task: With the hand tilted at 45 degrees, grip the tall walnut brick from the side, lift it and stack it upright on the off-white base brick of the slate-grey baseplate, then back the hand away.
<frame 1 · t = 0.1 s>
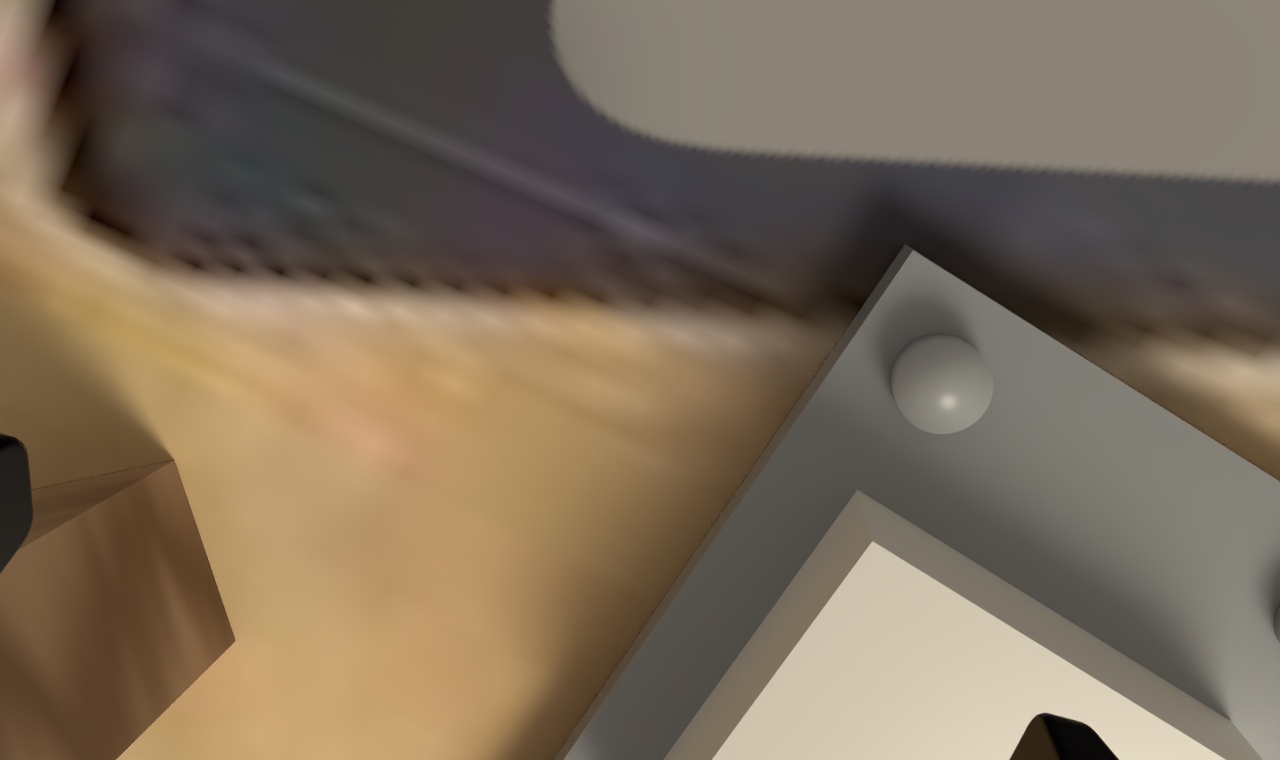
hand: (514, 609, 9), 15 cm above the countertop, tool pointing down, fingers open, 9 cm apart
base brick: (908, 740, 26), on the countertop
walnut brick: (117, 569, 27), on the countertop
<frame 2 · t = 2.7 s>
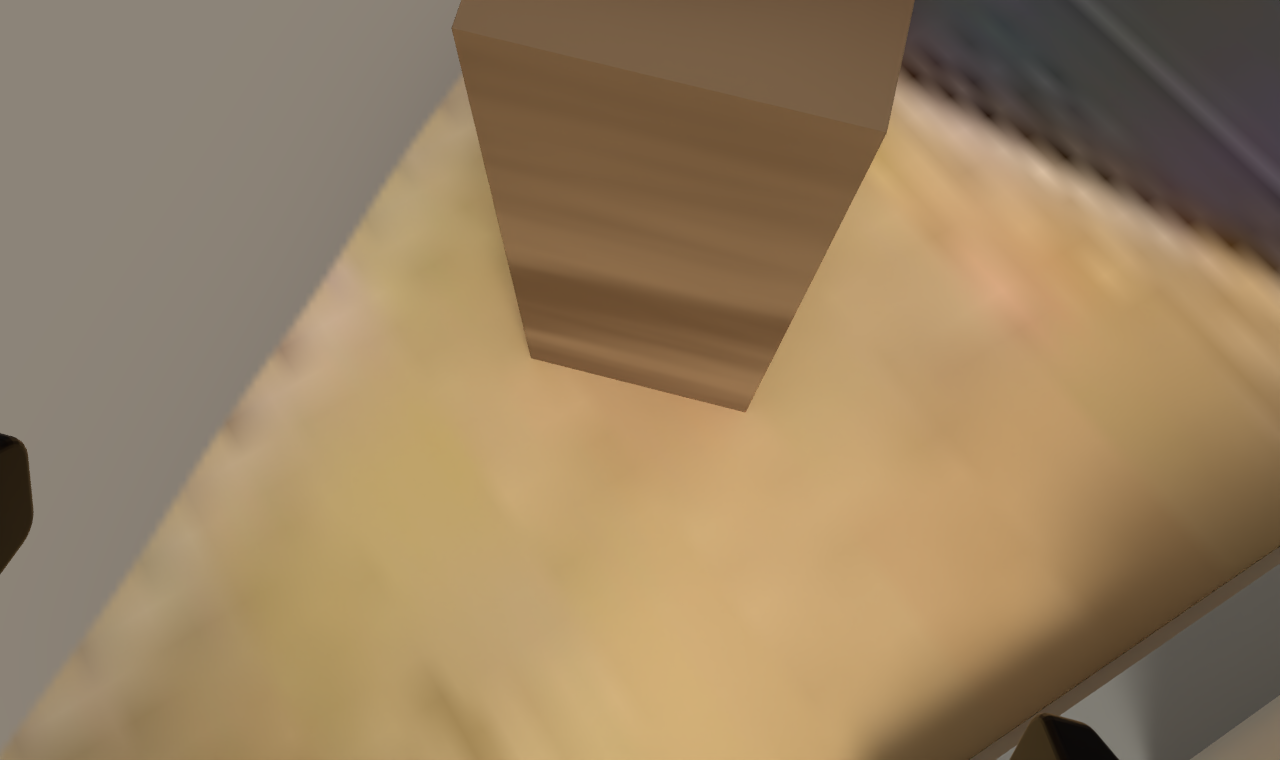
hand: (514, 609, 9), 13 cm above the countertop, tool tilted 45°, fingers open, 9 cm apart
walnut brick: (664, 284, 24), on the countertop
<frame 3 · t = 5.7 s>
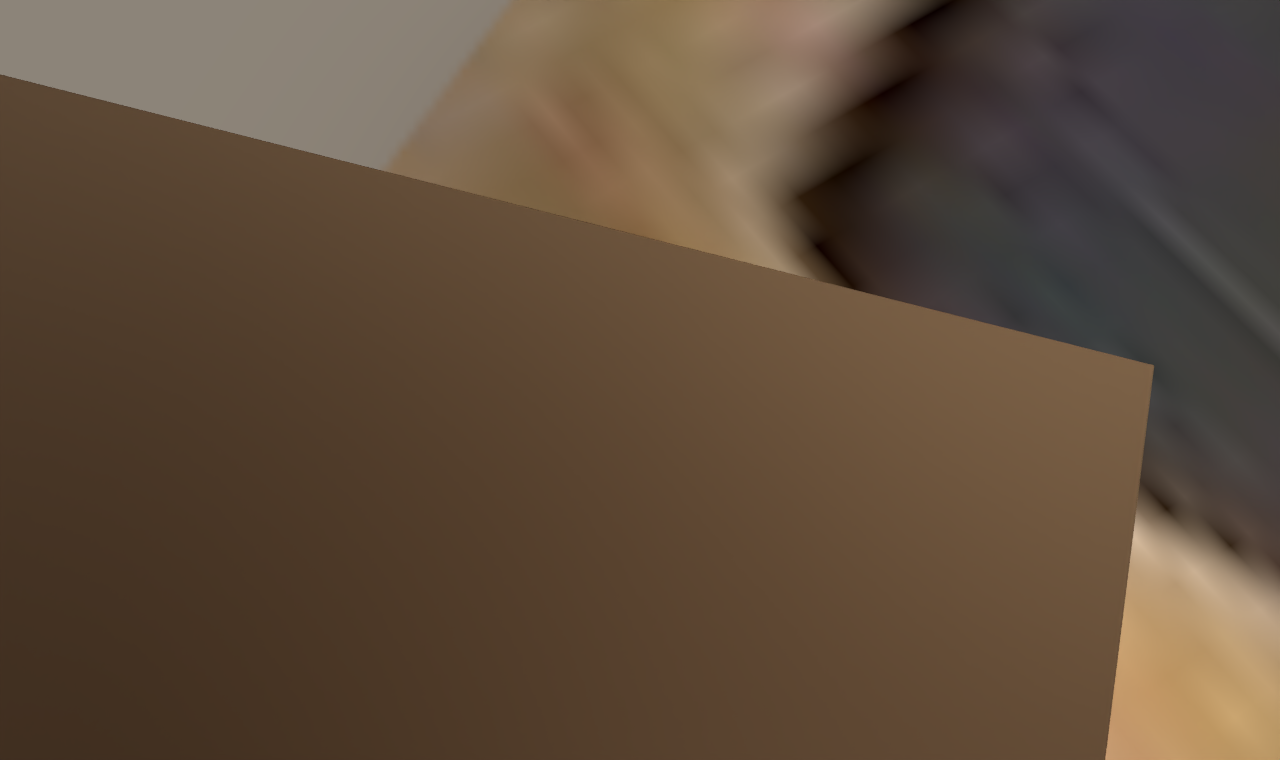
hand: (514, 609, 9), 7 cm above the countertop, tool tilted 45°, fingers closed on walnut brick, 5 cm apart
walnut brick: (525, 739, 15), on the countertop, touching gripper
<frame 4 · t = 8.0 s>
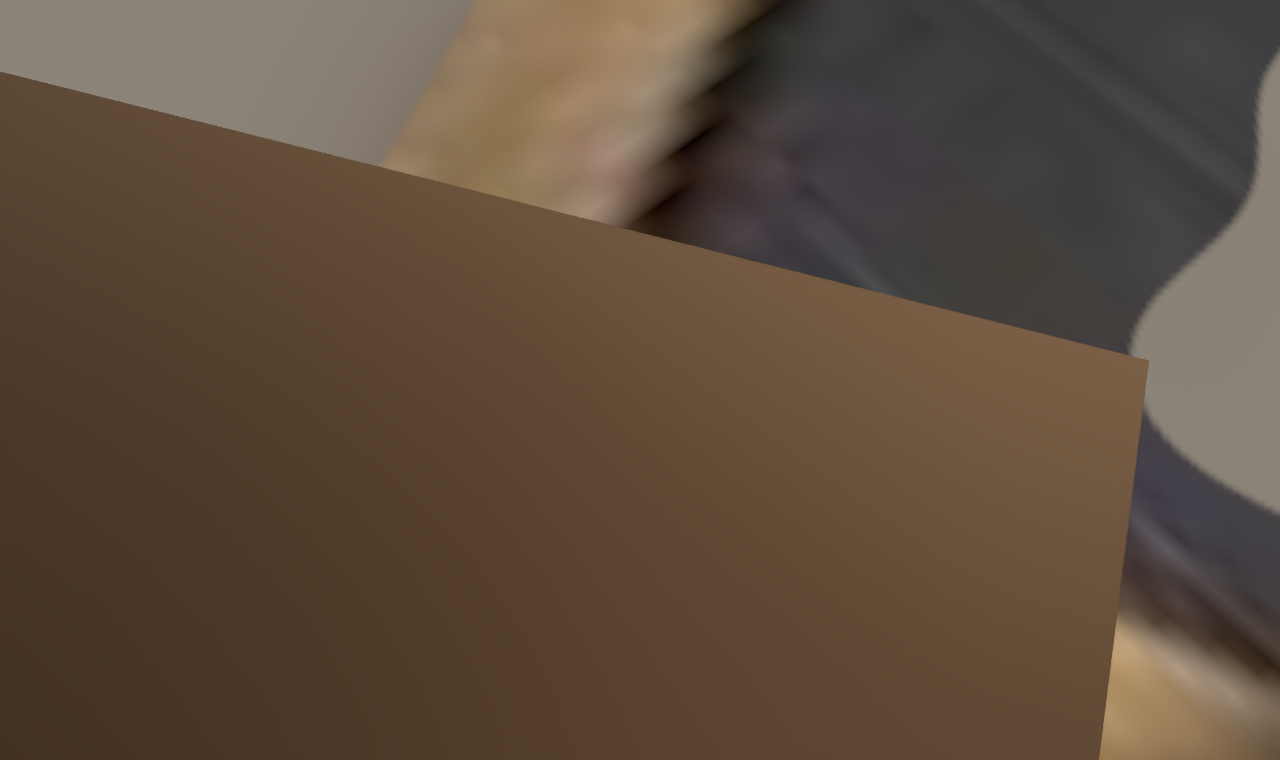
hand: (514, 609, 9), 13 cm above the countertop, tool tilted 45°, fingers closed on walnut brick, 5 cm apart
walnut brick: (524, 738, 15), point 7 cm above the countertop, touching gripper
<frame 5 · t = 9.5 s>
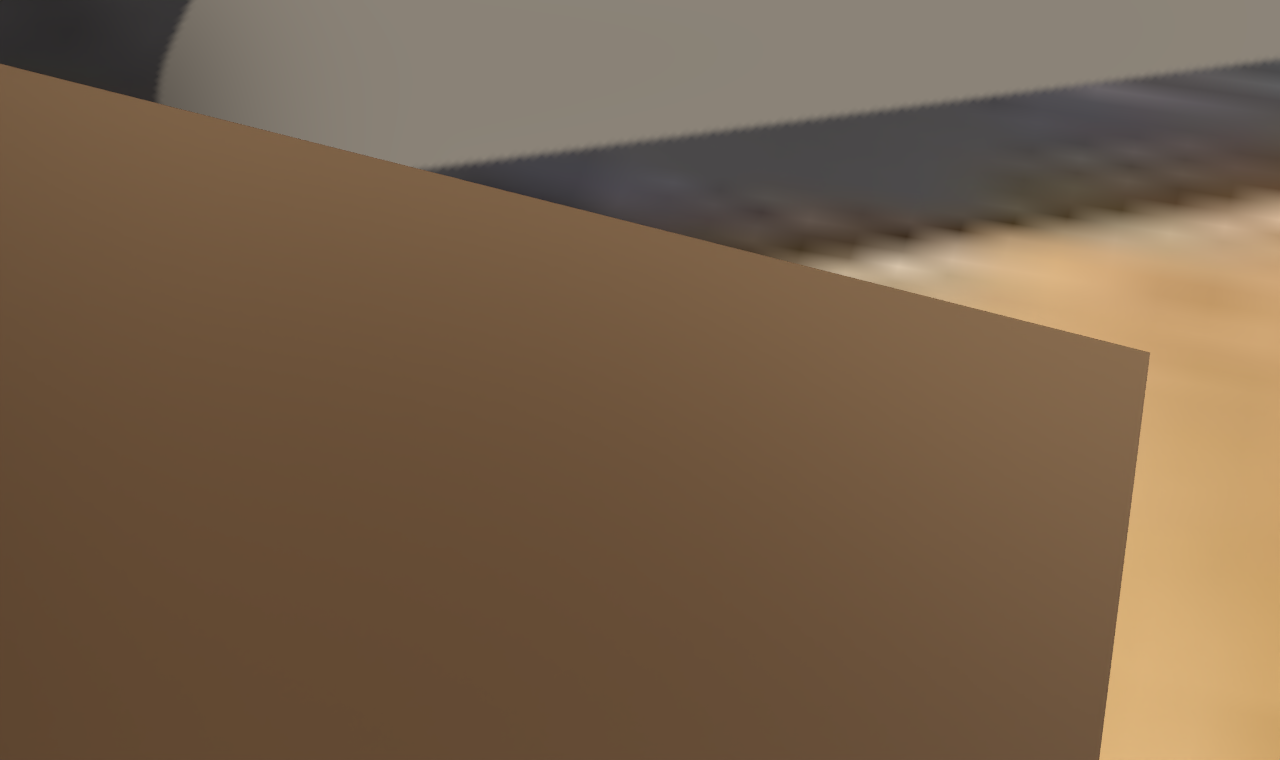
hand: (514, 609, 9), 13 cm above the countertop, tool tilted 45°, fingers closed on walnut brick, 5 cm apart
walnut brick: (524, 736, 15), point 7 cm above the countertop, touching gripper
when the fingers open (12 cm above the countertop, at t = 10.7 s): walnut brick drops 1 cm, resting on base brick.
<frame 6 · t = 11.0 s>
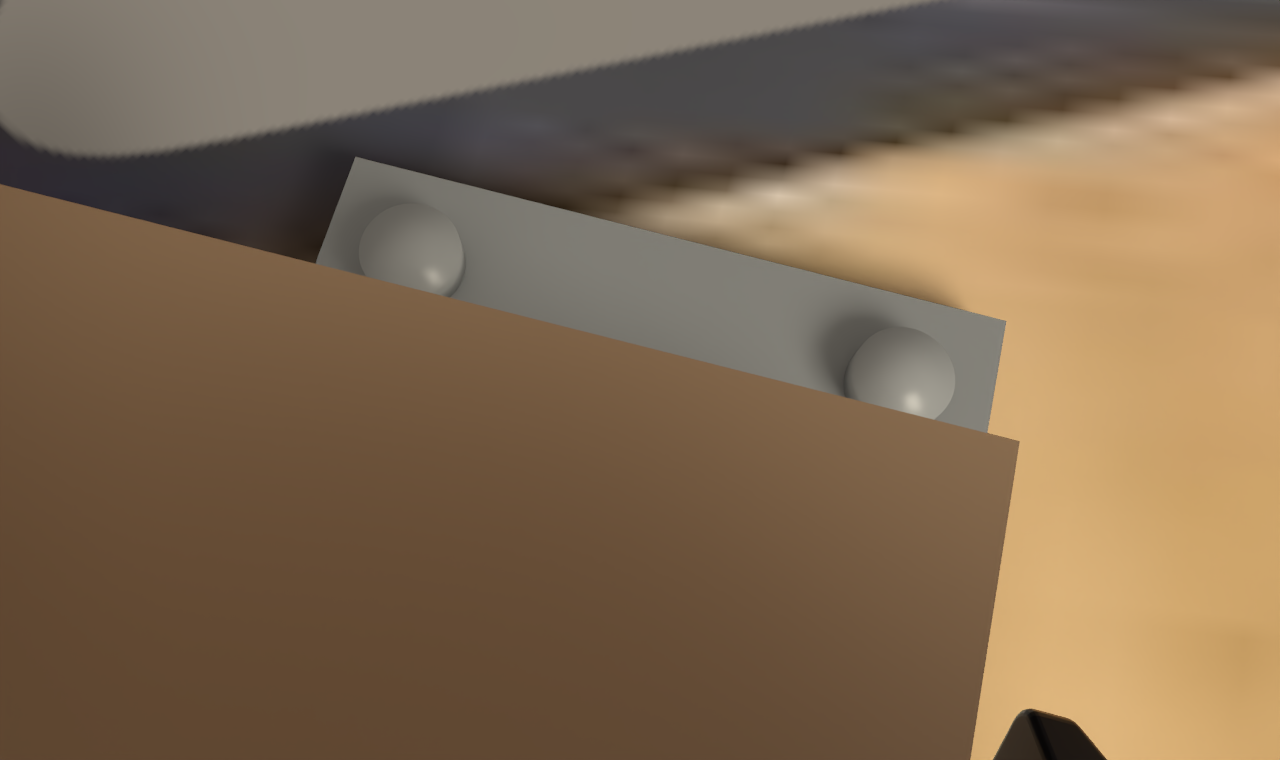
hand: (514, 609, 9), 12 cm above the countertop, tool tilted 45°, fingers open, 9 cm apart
base brick: (546, 724, 20), on the countertop
walnut brick: (531, 734, 16), point 4 cm above the countertop, touching base brick
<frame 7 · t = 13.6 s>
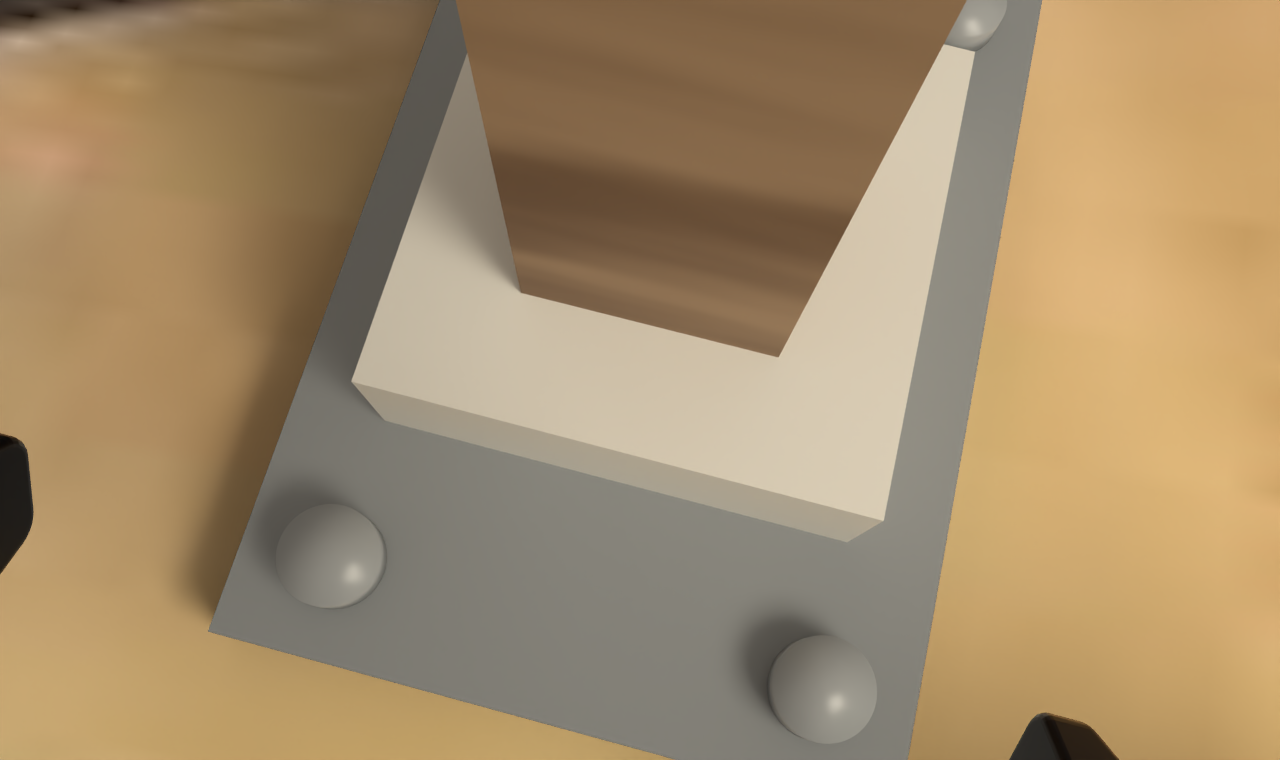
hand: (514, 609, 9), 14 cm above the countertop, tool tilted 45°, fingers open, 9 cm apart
base brick: (668, 285, 24), on the countertop
walnut brick: (680, 207, 20), point 4 cm above the countertop, touching base brick
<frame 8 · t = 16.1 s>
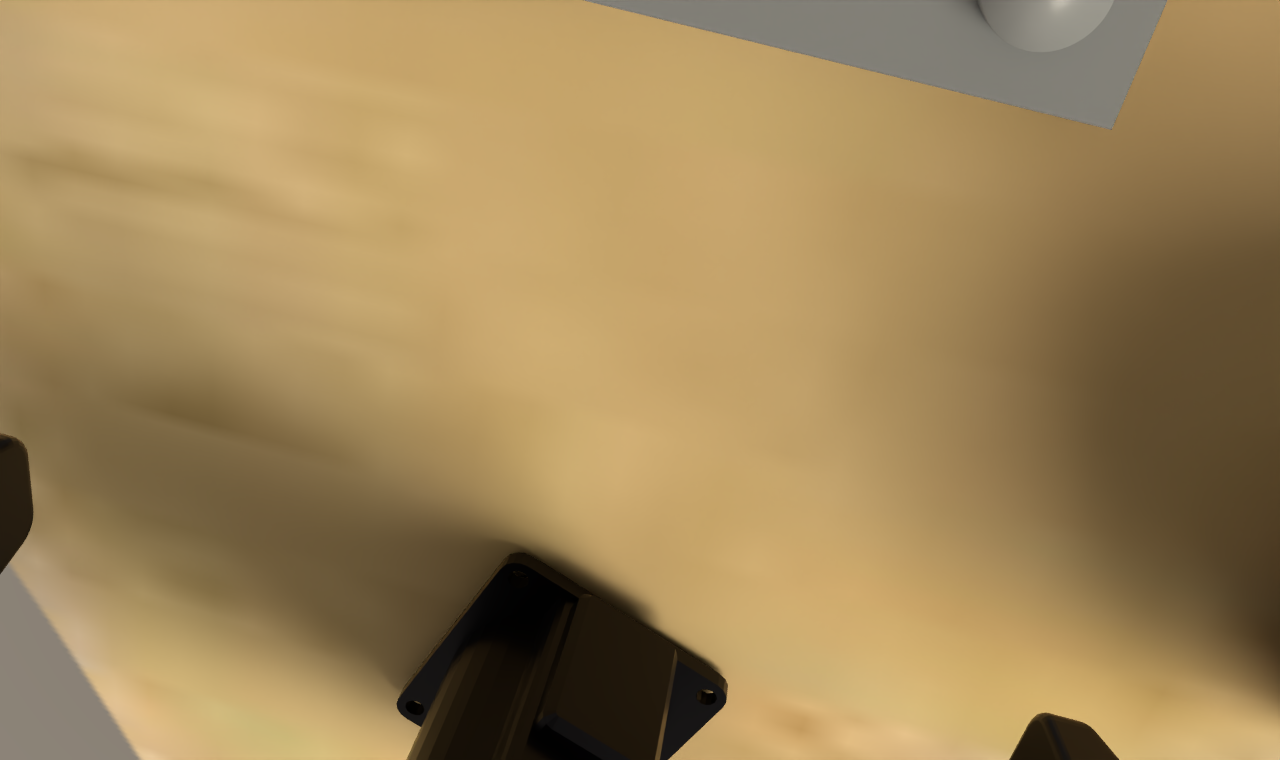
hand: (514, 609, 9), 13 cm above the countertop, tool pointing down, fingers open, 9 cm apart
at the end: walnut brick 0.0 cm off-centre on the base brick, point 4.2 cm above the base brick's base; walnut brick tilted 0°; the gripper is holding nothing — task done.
